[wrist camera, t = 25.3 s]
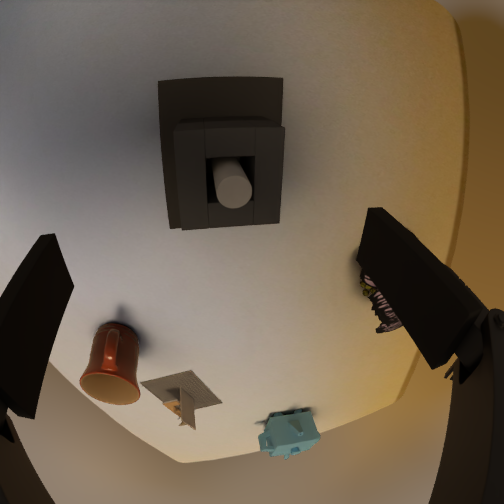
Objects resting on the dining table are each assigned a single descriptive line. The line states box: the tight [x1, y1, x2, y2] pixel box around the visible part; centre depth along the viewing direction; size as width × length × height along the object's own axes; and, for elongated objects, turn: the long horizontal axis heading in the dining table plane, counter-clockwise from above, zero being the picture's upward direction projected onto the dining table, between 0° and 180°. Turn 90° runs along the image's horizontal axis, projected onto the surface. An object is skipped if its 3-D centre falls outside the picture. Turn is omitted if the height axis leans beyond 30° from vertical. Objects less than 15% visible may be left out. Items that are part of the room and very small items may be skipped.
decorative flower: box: [360, 230, 418, 333], centre depth 39 cm, size 15×12×15 cm
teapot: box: [258, 409, 320, 459], centre depth 63 cm, size 16×18×11 cm
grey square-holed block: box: [174, 120, 285, 230], centre depth 23 cm, size 8×8×4 cm
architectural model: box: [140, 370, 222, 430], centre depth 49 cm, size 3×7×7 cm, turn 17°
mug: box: [80, 323, 140, 405], centre depth 36 cm, size 12×9×10 cm
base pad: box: [158, 77, 283, 229], centre depth 24 cm, size 16×12×12 cm
